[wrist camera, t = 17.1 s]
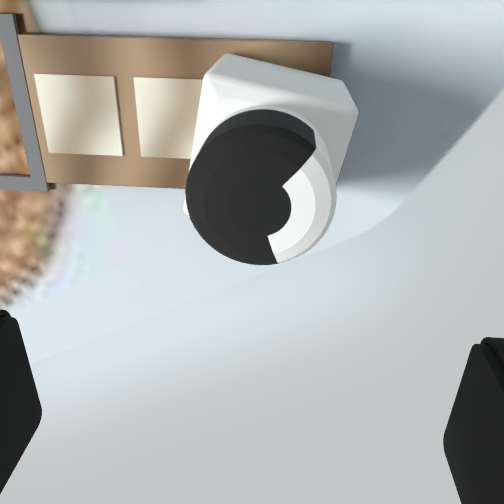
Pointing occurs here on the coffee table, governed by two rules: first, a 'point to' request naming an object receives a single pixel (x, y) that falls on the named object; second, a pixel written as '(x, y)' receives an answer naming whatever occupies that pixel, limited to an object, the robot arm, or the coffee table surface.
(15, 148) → the coffee table surface
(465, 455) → the robot arm
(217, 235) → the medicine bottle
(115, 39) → the board
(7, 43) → the frame
